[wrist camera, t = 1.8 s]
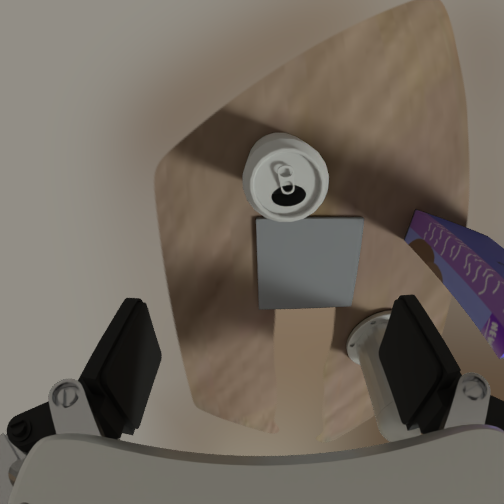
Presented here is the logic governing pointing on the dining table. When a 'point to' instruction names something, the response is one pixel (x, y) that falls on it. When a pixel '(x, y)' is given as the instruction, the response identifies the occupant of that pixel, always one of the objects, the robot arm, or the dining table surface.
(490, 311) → the cereal box
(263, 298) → the mat
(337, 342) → the dining table surface
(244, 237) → the dining table surface
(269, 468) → the robot arm
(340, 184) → the dining table surface
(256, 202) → the can
